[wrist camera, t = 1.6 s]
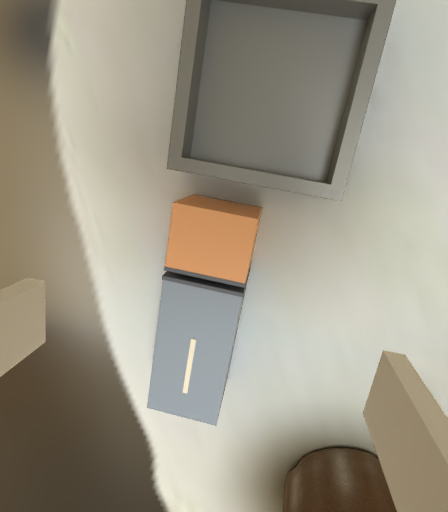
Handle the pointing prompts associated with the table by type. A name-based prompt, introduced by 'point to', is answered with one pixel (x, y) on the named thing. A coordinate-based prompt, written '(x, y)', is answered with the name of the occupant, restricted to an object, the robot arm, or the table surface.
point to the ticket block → (194, 346)
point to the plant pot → (337, 483)
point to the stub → (212, 239)
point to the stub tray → (276, 90)
